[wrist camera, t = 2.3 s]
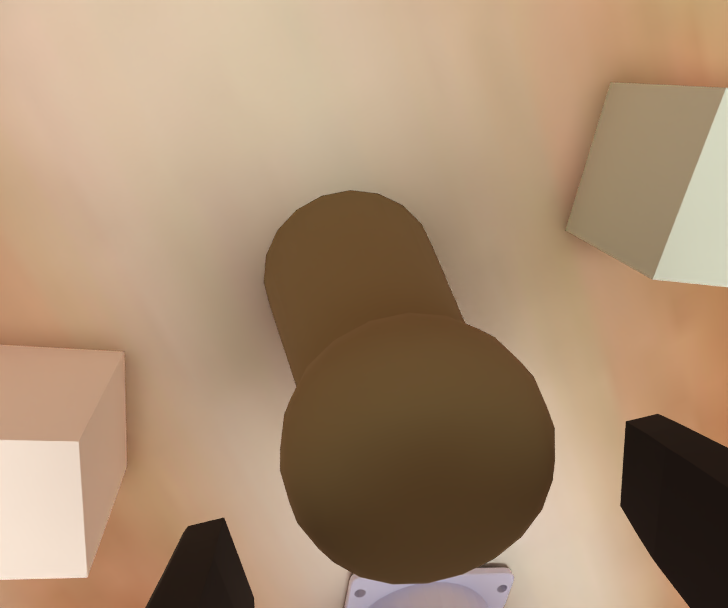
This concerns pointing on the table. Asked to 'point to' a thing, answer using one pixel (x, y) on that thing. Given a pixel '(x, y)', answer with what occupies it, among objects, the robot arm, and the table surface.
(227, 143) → the table surface
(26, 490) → the off-white block
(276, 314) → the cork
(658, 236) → the sage-green block
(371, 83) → the table surface
